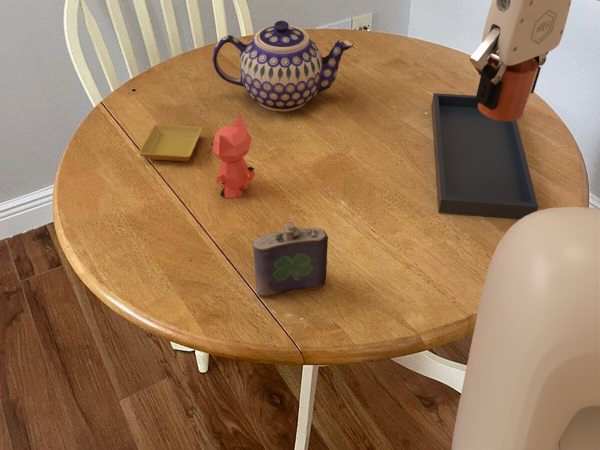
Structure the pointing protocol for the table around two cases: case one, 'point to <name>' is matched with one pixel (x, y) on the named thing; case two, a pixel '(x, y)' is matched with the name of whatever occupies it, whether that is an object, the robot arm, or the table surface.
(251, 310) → the table surface
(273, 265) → the flask
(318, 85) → the teapot
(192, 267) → the table surface
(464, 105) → the tray
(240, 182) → the cat figurine
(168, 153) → the yellow square dish
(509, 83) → the flower pot
